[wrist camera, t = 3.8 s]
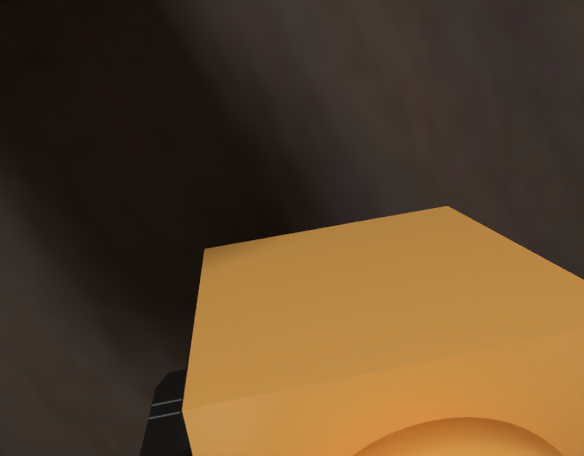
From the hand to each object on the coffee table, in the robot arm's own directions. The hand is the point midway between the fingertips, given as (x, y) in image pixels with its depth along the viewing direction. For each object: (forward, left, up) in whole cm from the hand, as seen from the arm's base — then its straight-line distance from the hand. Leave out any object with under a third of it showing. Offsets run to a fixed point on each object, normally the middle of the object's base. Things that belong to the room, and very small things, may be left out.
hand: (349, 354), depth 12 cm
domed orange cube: (0, 0, -1) cm, 1 cm away
